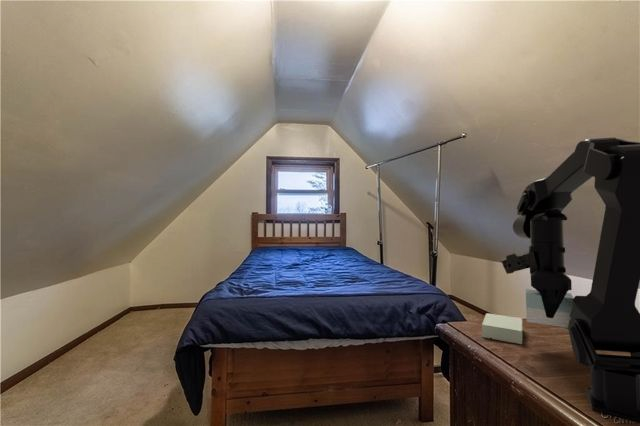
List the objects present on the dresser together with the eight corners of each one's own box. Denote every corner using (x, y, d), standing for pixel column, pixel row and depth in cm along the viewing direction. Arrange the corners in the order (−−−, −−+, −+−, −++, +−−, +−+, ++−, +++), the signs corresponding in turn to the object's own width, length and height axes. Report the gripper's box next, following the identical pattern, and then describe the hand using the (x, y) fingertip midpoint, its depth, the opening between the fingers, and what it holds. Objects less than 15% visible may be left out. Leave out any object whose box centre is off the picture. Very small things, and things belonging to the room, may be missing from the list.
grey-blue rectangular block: (574, 328, 60) (573, 298, 61) (526, 321, 65) (525, 293, 65) (571, 321, 65) (570, 293, 65) (526, 315, 69) (525, 288, 69)
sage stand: (522, 344, 68) (521, 331, 68) (482, 337, 73) (481, 324, 73) (522, 330, 77) (522, 318, 77) (486, 324, 81) (486, 313, 81)
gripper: (505, 237, 77) (507, 299, 77) (500, 243, 62) (502, 320, 62) (560, 238, 71) (562, 305, 71) (570, 245, 56) (573, 330, 55)
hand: (548, 314), depth 65 cm, fingers closed on grey-blue rectangular block, 5 cm apart
